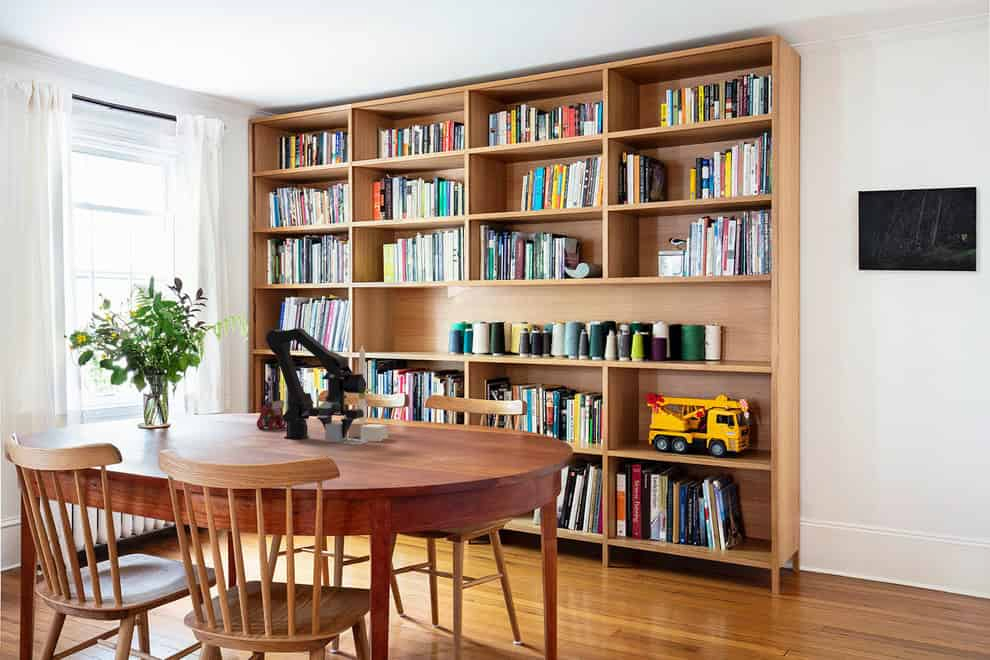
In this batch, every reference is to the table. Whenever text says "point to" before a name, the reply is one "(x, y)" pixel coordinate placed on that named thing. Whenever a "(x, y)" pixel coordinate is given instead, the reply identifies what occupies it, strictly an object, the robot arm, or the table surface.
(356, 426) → the terracotta block
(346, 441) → the tile
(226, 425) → the table surface
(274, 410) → the toy fire truck
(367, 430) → the cream block
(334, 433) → the grey block
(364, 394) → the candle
